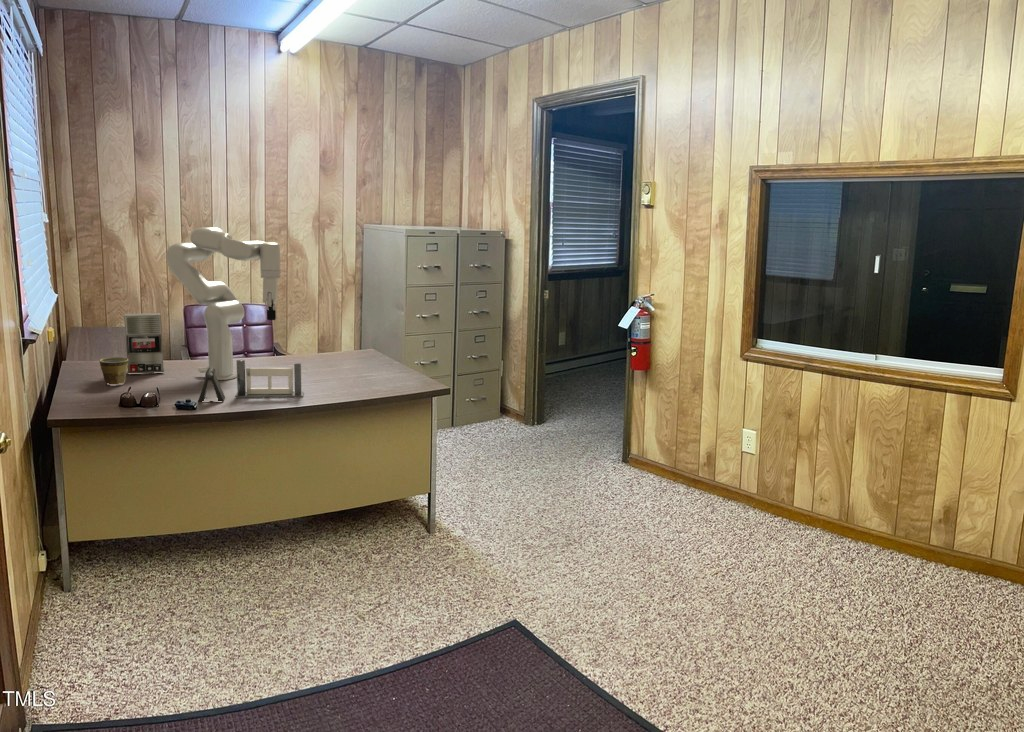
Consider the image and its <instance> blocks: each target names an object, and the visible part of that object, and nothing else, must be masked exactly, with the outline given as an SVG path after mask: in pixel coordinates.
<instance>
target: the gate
mask: <svg viewBox="0 0 1024 732" xmlns="http://www.w3.org/2000/svg"><path fill="white" fill-rule="evenodd" d="M293 370H294V369H293V367H245V383H246V392H247V394H293V392H294V379H293V378H294V377H293V376H294V375H293V374H294V373H293V372H294V371H293ZM252 377H267V387H252ZM272 377H288V379H287V381H288V387H273V385H272V384H273V383H272V382H273V380H272Z"/></svg>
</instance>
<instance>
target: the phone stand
mask: <svg viewBox="0 0 1024 732" xmlns="http://www.w3.org/2000/svg"><path fill="white" fill-rule="evenodd" d="M209 370H210V368H208V370H207V372H205V374H204V377H205V376H206V378H205V379H204V380H205V381H204V382H203V386H202V389H201V392H200V395H199V397H198V400H197V403H198V402H202V401H204V399H205V398H206V394H207V390H208V386H209V383H210V381H211V383H212V387H213V389H214V392H215V395H216V397H217V398H218V401H225V399H226V396H225V394H224V391H223V388H222V387H221V384H220V382H219V380H217V377H216V374H215V373H216V370H215V369H214V368H212V370H211V372H212V373H213V375H210V374H209V373H208V372H209Z"/></svg>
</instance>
